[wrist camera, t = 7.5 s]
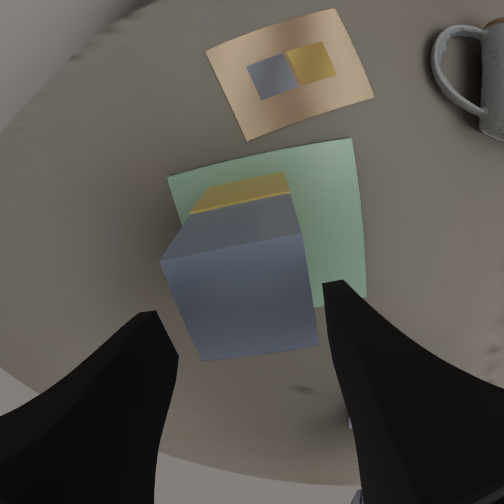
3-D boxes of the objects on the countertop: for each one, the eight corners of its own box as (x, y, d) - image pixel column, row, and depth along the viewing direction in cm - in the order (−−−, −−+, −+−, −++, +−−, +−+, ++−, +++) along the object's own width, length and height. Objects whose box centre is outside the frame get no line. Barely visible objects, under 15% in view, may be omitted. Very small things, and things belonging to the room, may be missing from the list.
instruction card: (334, 9, 12) (334, 8, 12) (373, 97, 15) (374, 97, 15) (205, 51, 14) (204, 51, 14) (246, 141, 16) (246, 141, 16)
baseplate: (349, 137, 16) (351, 137, 16) (365, 294, 21) (366, 297, 20) (168, 176, 17) (166, 177, 17) (217, 320, 22) (216, 323, 22)
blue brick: (290, 192, 13) (301, 232, 9) (306, 281, 15) (319, 345, 11) (190, 214, 13) (158, 261, 9) (217, 297, 15) (202, 361, 11)
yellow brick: (283, 171, 17) (290, 190, 13) (297, 241, 19) (306, 279, 15) (207, 187, 17) (189, 212, 13) (227, 255, 19) (217, 295, 15)
